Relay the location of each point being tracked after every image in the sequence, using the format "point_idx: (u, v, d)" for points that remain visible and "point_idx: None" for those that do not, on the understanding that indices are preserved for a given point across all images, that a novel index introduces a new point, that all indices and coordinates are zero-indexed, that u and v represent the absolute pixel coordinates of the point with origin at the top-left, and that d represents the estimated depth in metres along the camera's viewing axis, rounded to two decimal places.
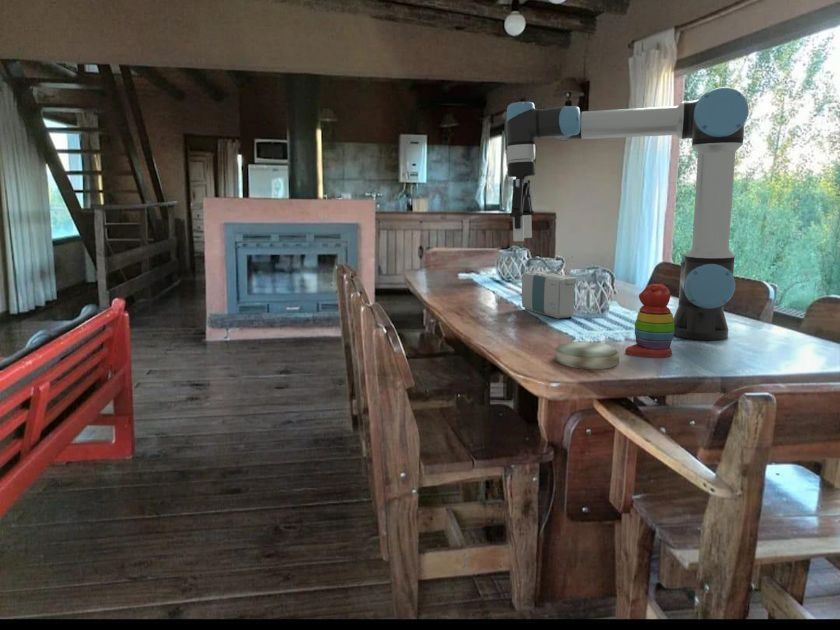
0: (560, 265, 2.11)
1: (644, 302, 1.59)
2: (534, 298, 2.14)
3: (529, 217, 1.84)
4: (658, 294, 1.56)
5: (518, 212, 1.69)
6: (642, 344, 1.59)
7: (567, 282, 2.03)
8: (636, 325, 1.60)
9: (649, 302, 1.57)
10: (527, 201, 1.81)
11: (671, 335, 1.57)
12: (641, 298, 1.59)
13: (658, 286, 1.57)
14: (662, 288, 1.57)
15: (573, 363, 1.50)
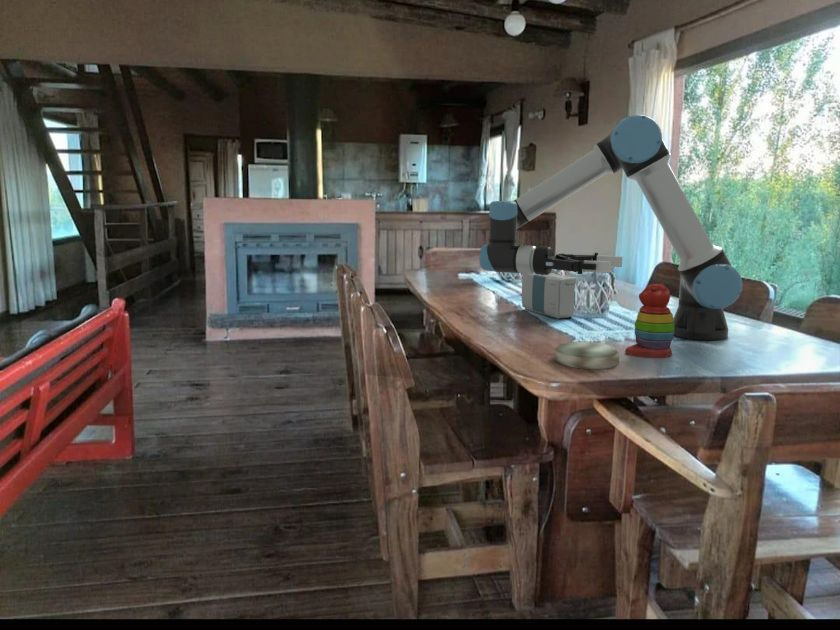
0: None
1: (644, 302, 1.59)
2: (534, 298, 2.14)
3: (599, 257, 1.71)
4: (658, 294, 1.56)
5: (575, 264, 1.57)
6: (642, 344, 1.59)
7: (567, 282, 2.03)
8: (636, 325, 1.60)
9: (649, 302, 1.57)
10: (580, 257, 1.71)
11: (671, 335, 1.57)
12: (641, 298, 1.59)
13: (658, 286, 1.57)
14: (662, 288, 1.57)
15: (573, 363, 1.50)
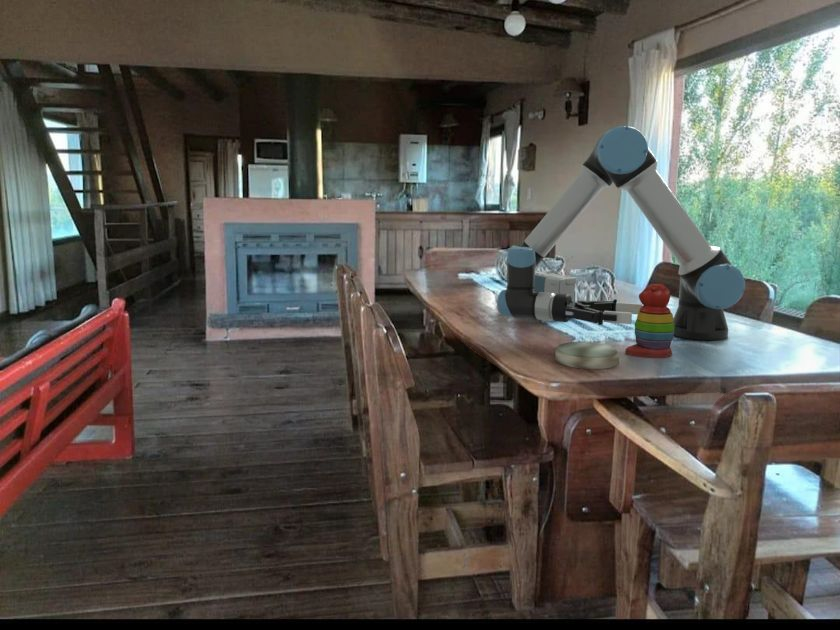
0: (560, 265, 2.11)
1: (644, 302, 1.59)
2: None
3: (618, 304, 1.70)
4: (658, 293, 1.56)
5: (596, 315, 1.57)
6: (642, 344, 1.59)
7: (567, 282, 2.03)
8: (636, 325, 1.60)
9: (649, 302, 1.57)
10: (599, 304, 1.70)
11: (671, 335, 1.57)
12: (641, 298, 1.59)
13: (658, 286, 1.57)
14: (662, 288, 1.57)
15: (573, 363, 1.50)
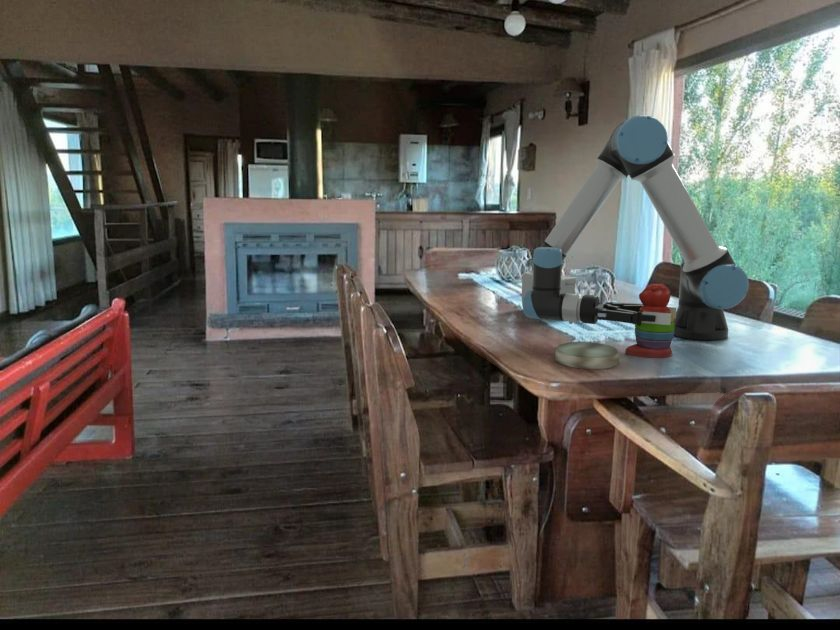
0: None
1: (644, 302, 1.59)
2: None
3: None
4: (659, 293, 1.56)
5: (635, 316, 1.55)
6: (642, 344, 1.59)
7: (567, 282, 2.03)
8: (636, 325, 1.60)
9: (649, 301, 1.57)
10: (629, 307, 1.66)
11: (671, 335, 1.57)
12: (641, 298, 1.59)
13: (658, 286, 1.57)
14: (662, 288, 1.57)
15: (573, 363, 1.50)
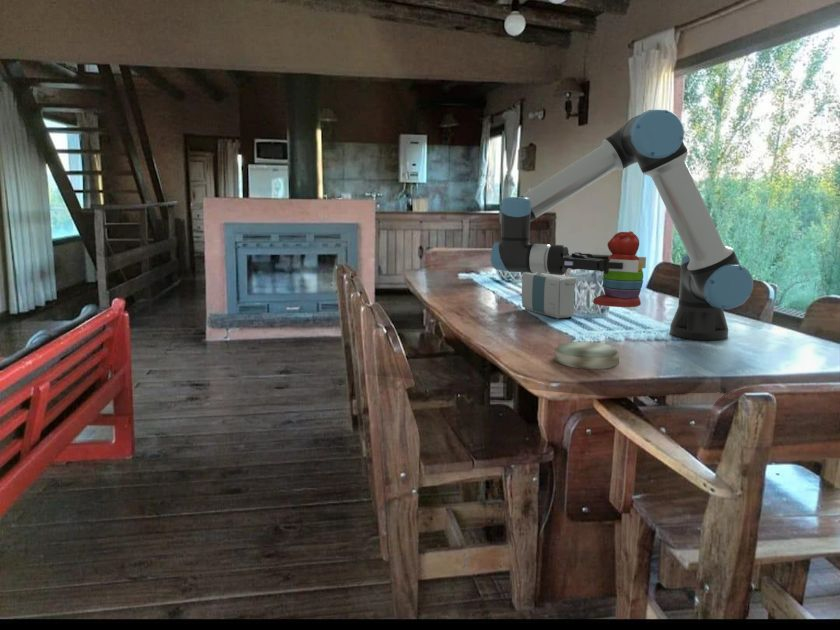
0: None
1: (612, 250, 1.54)
2: (534, 298, 2.14)
3: None
4: (627, 240, 1.51)
5: (601, 263, 1.50)
6: (610, 293, 1.55)
7: (567, 282, 2.03)
8: (604, 274, 1.56)
9: (617, 249, 1.53)
10: (598, 257, 1.61)
11: (639, 284, 1.53)
12: (609, 246, 1.55)
13: (627, 233, 1.52)
14: (631, 235, 1.52)
15: (573, 363, 1.50)
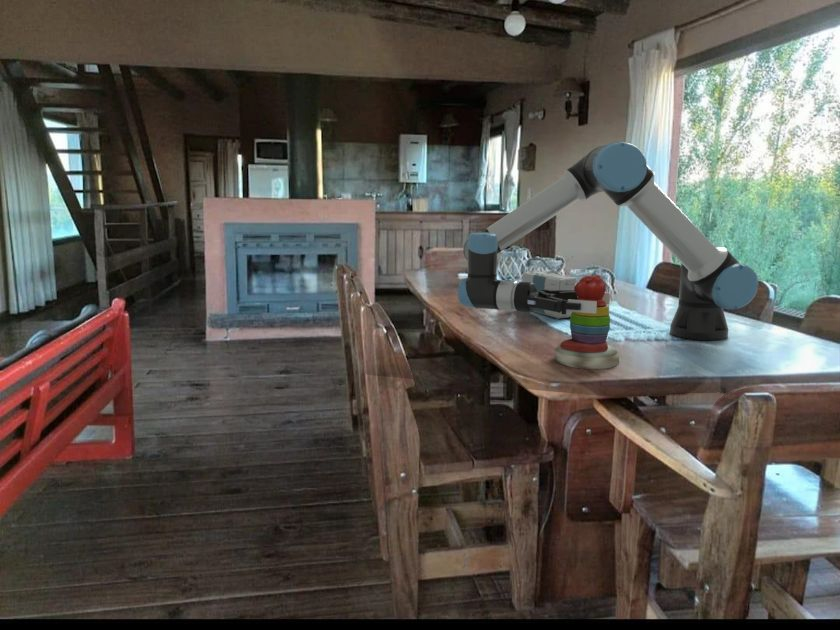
0: (560, 265, 2.11)
1: (579, 294, 1.52)
2: None
3: None
4: (592, 285, 1.49)
5: (558, 304, 1.46)
6: (576, 338, 1.52)
7: (567, 282, 2.03)
8: (571, 318, 1.53)
9: (583, 294, 1.51)
10: (564, 293, 1.60)
11: (606, 329, 1.51)
12: (576, 290, 1.52)
13: (593, 277, 1.50)
14: (597, 280, 1.50)
15: (573, 363, 1.50)
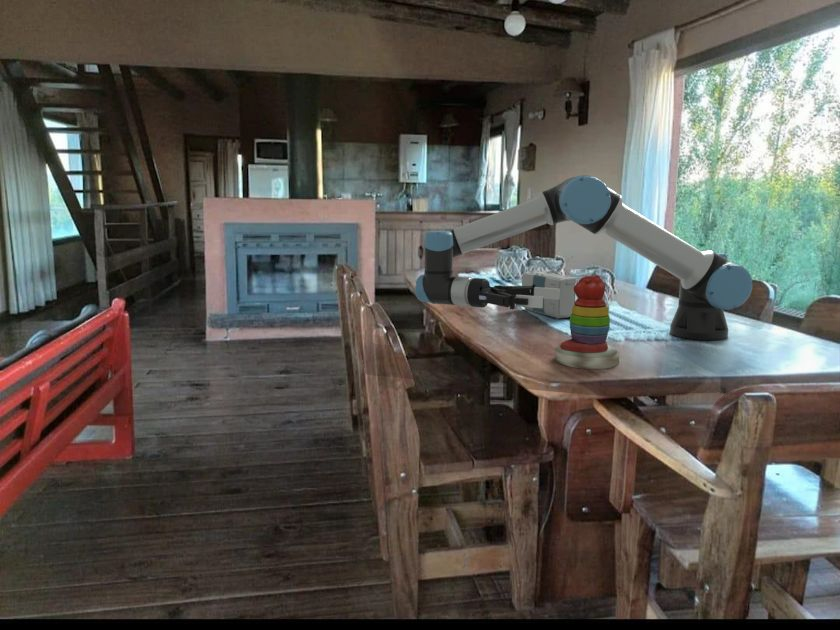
0: (560, 265, 2.11)
1: (578, 295, 1.52)
2: None
3: (536, 289, 1.65)
4: (592, 286, 1.49)
5: (506, 299, 1.52)
6: (576, 339, 1.52)
7: (567, 282, 2.03)
8: (570, 319, 1.53)
9: (582, 294, 1.50)
10: (516, 289, 1.66)
11: (606, 329, 1.51)
12: (575, 291, 1.52)
13: (592, 278, 1.50)
14: (596, 280, 1.50)
15: (573, 363, 1.50)
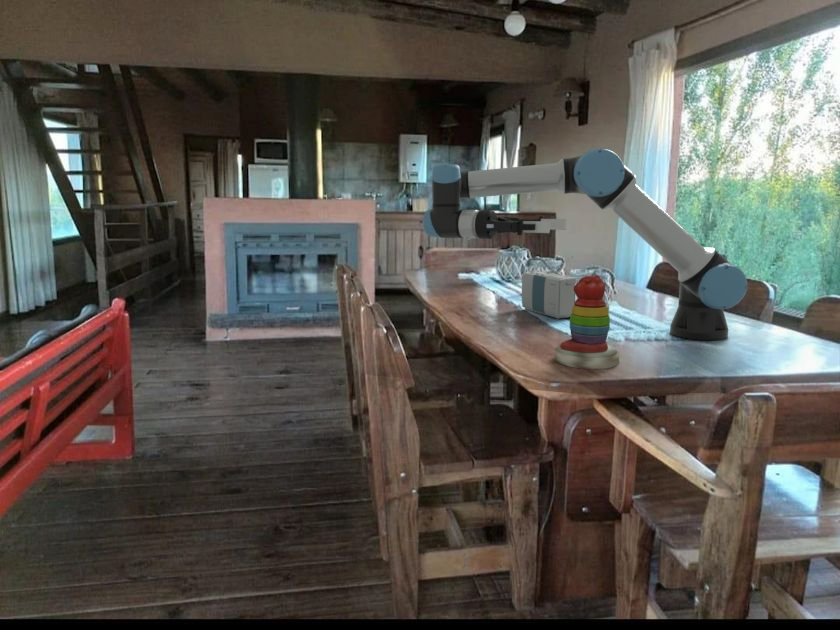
0: (560, 265, 2.11)
1: (578, 295, 1.52)
2: (534, 298, 2.14)
3: (543, 220, 1.67)
4: (592, 286, 1.49)
5: (514, 224, 1.54)
6: (576, 339, 1.52)
7: (567, 282, 2.03)
8: (570, 319, 1.53)
9: (582, 294, 1.50)
10: (523, 221, 1.68)
11: (606, 329, 1.51)
12: (575, 291, 1.52)
13: (592, 278, 1.50)
14: (596, 280, 1.50)
15: (573, 363, 1.50)
